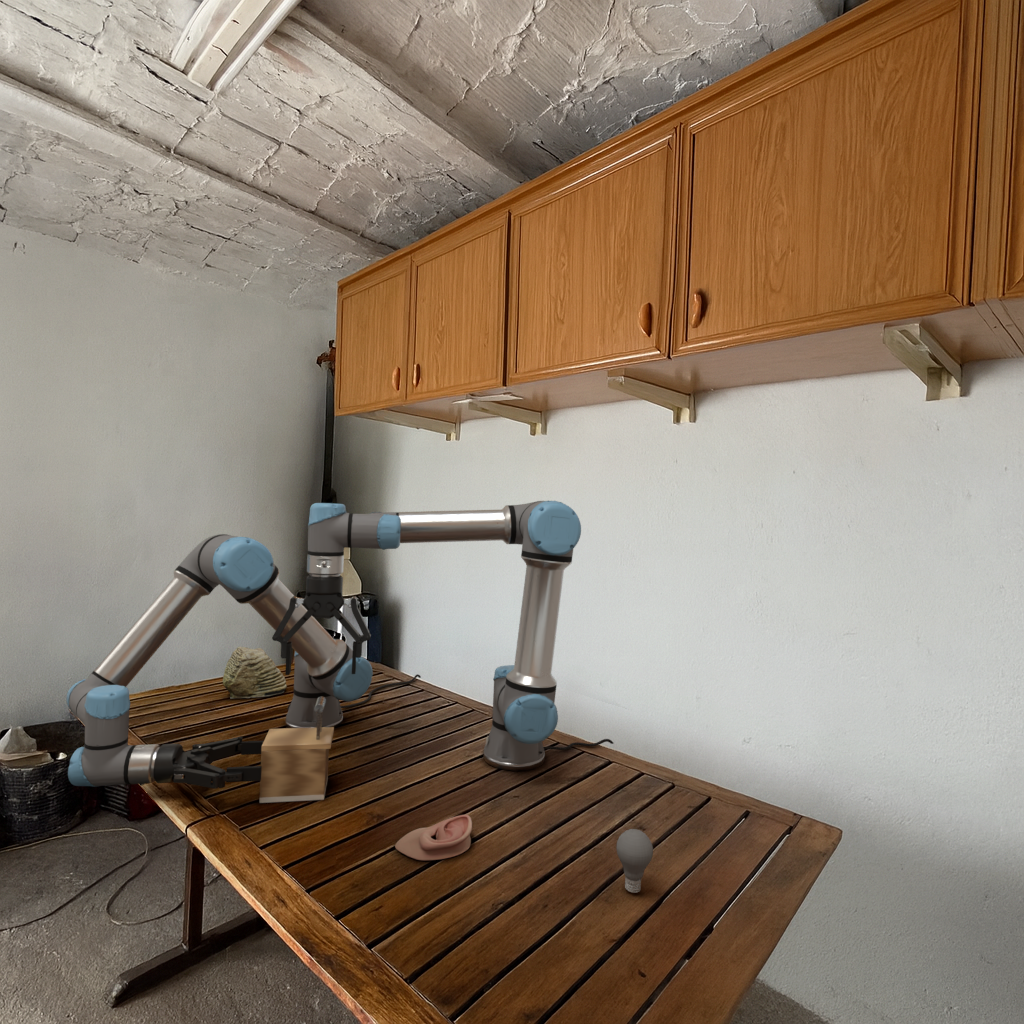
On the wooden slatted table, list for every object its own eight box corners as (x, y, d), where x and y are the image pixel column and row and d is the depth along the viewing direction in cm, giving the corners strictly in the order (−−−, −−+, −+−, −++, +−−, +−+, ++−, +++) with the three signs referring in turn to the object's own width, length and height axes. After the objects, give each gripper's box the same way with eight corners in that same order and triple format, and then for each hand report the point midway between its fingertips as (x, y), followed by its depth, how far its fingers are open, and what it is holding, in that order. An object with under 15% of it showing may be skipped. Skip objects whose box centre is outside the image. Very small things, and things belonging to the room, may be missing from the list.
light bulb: (610, 879, 108) (613, 822, 108) (644, 879, 109) (647, 822, 109) (619, 902, 102) (622, 840, 102) (655, 901, 103) (658, 840, 103)
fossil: (218, 695, 195) (220, 647, 195) (278, 685, 208) (279, 640, 207) (228, 703, 189) (230, 653, 188) (289, 692, 201) (290, 645, 201)
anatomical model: (389, 833, 113) (412, 803, 124) (388, 855, 113) (411, 823, 124) (460, 844, 110) (477, 813, 121) (459, 867, 110) (476, 833, 121)
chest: (327, 779, 142) (329, 732, 142) (324, 799, 133) (326, 749, 132) (267, 781, 139) (269, 734, 139) (259, 802, 130) (261, 751, 130)
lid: (333, 731, 142) (335, 693, 142) (330, 748, 133) (332, 707, 132) (269, 733, 139) (270, 694, 139) (261, 751, 130) (262, 708, 130)
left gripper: (176, 757, 143) (276, 753, 147) (134, 811, 118) (254, 805, 122) (177, 724, 142) (277, 721, 147) (135, 771, 118) (256, 766, 122)
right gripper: (260, 575, 130) (256, 678, 130) (384, 578, 135) (380, 676, 135) (266, 571, 137) (263, 668, 138) (384, 573, 142) (380, 667, 143)
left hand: (267, 759), depth 135 cm, fingers open, 13 cm apart
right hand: (321, 673), depth 137 cm, fingers open, 13 cm apart
